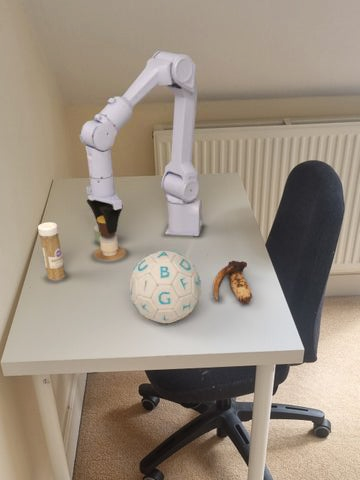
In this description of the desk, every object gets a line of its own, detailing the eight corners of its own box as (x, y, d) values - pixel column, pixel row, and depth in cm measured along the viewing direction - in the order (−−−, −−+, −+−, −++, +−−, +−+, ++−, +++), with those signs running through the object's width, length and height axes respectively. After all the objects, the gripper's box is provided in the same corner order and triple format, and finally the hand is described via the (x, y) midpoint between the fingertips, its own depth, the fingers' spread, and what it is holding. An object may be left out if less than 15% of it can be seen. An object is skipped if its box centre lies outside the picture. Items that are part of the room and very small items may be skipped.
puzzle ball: (199, 300, 135) (198, 237, 125) (202, 335, 123) (202, 269, 114) (133, 302, 135) (127, 240, 125) (130, 338, 123) (124, 272, 114)
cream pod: (120, 249, 156) (119, 234, 154) (116, 257, 153) (114, 241, 150) (103, 248, 157) (102, 233, 154) (99, 256, 153) (97, 240, 151)
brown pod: (119, 231, 153) (117, 215, 150) (114, 238, 149) (112, 222, 147) (101, 230, 154) (99, 214, 151) (96, 237, 150) (94, 221, 147)
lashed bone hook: (207, 276, 145) (218, 311, 130) (206, 258, 142) (217, 292, 128) (244, 272, 145) (259, 307, 131) (244, 254, 142) (259, 288, 128)
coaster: (129, 249, 158) (129, 247, 157) (121, 262, 151) (121, 260, 151) (99, 247, 159) (99, 245, 159) (90, 261, 153) (90, 259, 152)
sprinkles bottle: (60, 282, 144) (51, 229, 135) (44, 280, 145) (33, 228, 136) (68, 274, 147) (60, 222, 139) (52, 272, 148) (43, 220, 140)
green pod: (114, 238, 163) (112, 223, 161) (109, 245, 160) (108, 230, 157) (98, 238, 164) (96, 223, 161) (93, 245, 160) (91, 230, 158)
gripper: (72, 171, 145) (80, 224, 154) (101, 186, 136) (107, 242, 144) (98, 165, 148) (103, 217, 157) (127, 180, 139) (132, 235, 147)
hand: (107, 229), depth 151 cm, fingers closed on brown pod, 4 cm apart
